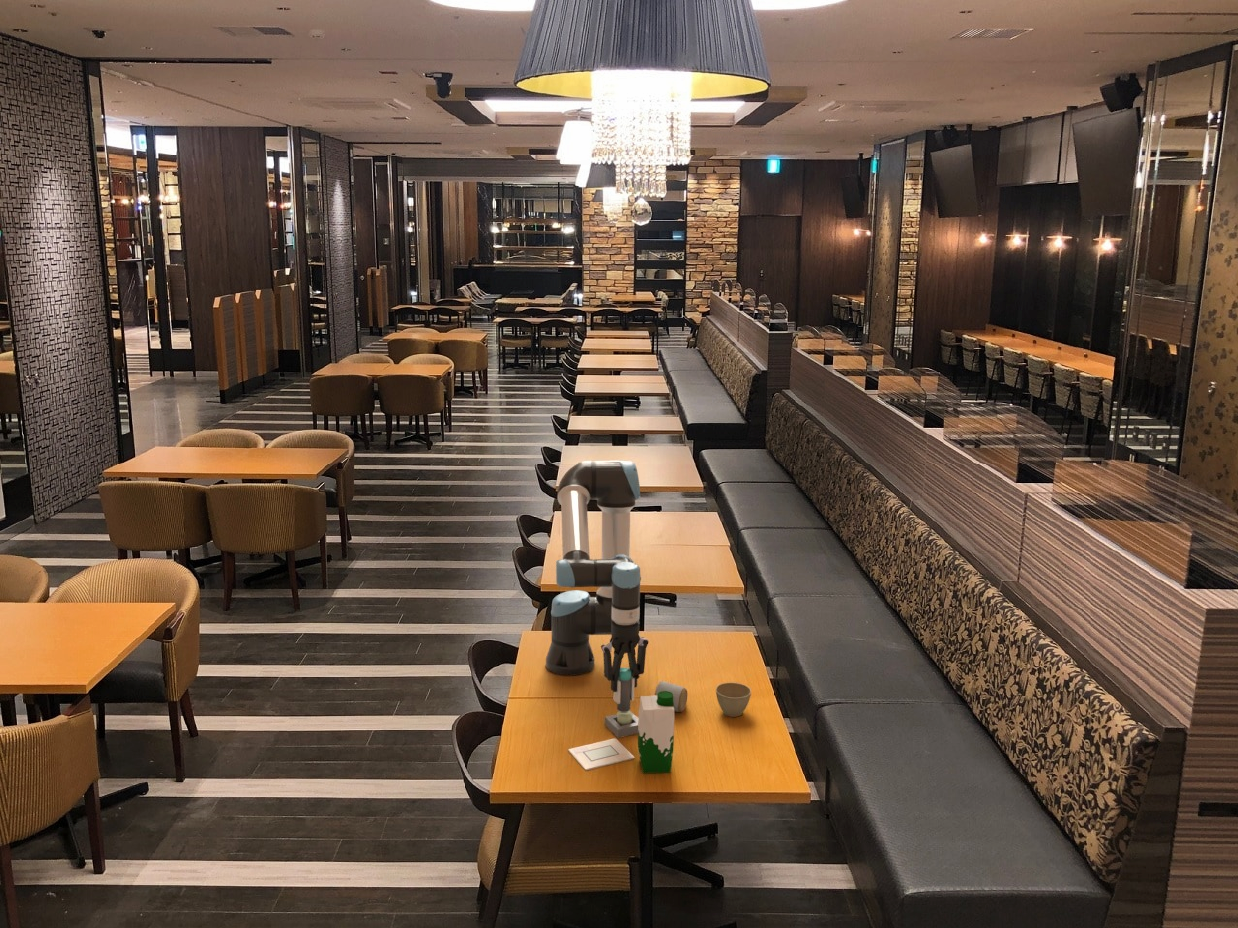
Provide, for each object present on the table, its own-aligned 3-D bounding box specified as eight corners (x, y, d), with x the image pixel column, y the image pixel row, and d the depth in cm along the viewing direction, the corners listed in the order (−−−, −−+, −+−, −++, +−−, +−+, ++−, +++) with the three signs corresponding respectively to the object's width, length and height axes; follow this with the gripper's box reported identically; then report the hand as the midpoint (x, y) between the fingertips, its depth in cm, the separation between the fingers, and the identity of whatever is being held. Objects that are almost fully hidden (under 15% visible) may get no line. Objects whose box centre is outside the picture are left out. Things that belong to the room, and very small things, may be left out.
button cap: (614, 721, 288) (614, 711, 287) (627, 718, 290) (627, 708, 289) (621, 727, 285) (621, 717, 284) (634, 724, 286) (634, 714, 286)
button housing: (604, 724, 289) (605, 716, 289) (630, 718, 293) (630, 711, 292) (617, 737, 282) (618, 729, 282) (644, 731, 286) (644, 723, 285)
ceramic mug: (680, 717, 294) (681, 691, 293) (652, 711, 297) (653, 686, 296) (691, 701, 304) (692, 677, 302) (664, 696, 307) (665, 672, 305)
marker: (620, 715, 283) (621, 674, 280) (614, 709, 286) (615, 669, 283) (632, 712, 285) (633, 671, 282) (626, 706, 288) (627, 666, 285)
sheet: (568, 750, 275) (568, 748, 275) (615, 739, 282) (615, 737, 281) (585, 770, 266) (585, 768, 266) (634, 758, 272) (634, 756, 272)
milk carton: (674, 774, 265) (677, 702, 260) (639, 775, 264) (640, 703, 259) (670, 756, 273) (672, 686, 268) (635, 757, 272) (637, 687, 268)
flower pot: (754, 709, 300) (755, 686, 298) (743, 724, 291) (744, 700, 289) (721, 701, 304) (722, 679, 302) (709, 716, 295) (710, 693, 293)
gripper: (603, 630, 272) (602, 712, 278) (659, 620, 279) (657, 699, 285) (591, 620, 279) (590, 699, 285) (646, 610, 286) (644, 688, 292)
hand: (623, 699), depth 285 cm, fingers closed on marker, 3 cm apart
